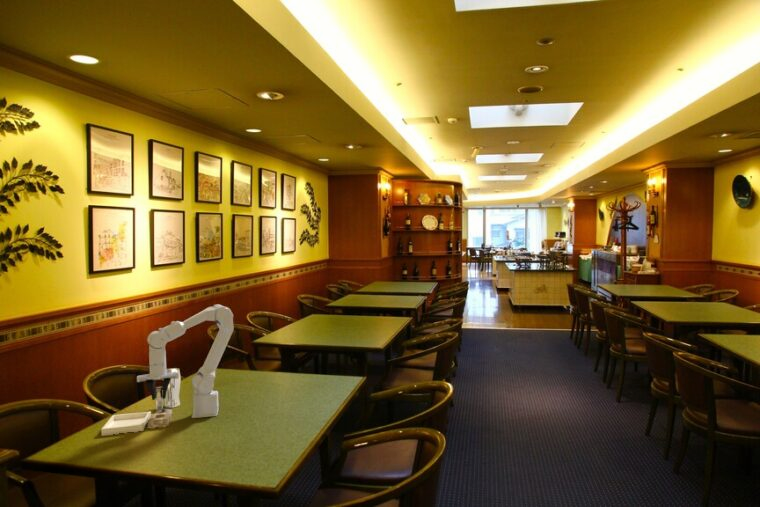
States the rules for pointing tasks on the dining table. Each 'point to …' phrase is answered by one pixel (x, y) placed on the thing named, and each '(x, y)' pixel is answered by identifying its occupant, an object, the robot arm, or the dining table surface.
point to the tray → (126, 423)
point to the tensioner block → (160, 418)
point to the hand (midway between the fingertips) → (159, 398)
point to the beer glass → (173, 390)
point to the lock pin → (159, 398)
